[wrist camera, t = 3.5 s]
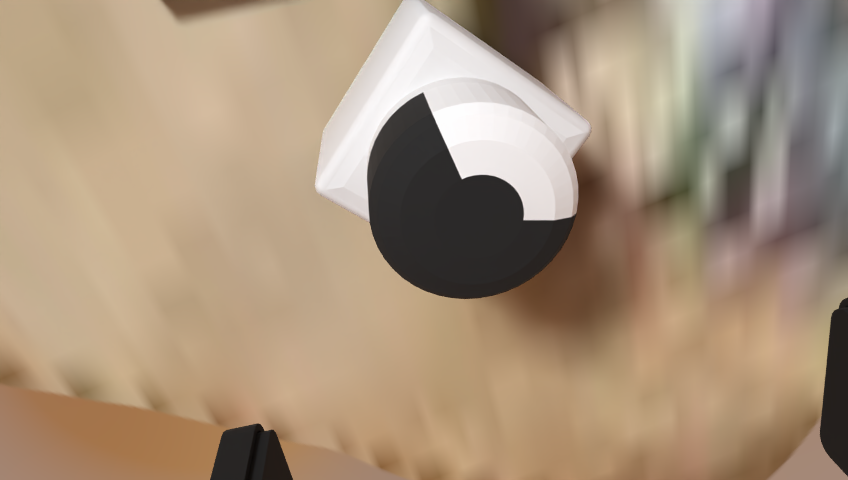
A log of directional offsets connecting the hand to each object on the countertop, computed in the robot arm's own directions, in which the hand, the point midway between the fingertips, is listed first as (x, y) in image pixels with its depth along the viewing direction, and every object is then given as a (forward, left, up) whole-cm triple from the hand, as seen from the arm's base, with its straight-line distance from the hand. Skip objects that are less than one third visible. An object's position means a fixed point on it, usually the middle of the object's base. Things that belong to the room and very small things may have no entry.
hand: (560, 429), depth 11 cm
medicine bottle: (0, 0, -20) cm, 20 cm away
